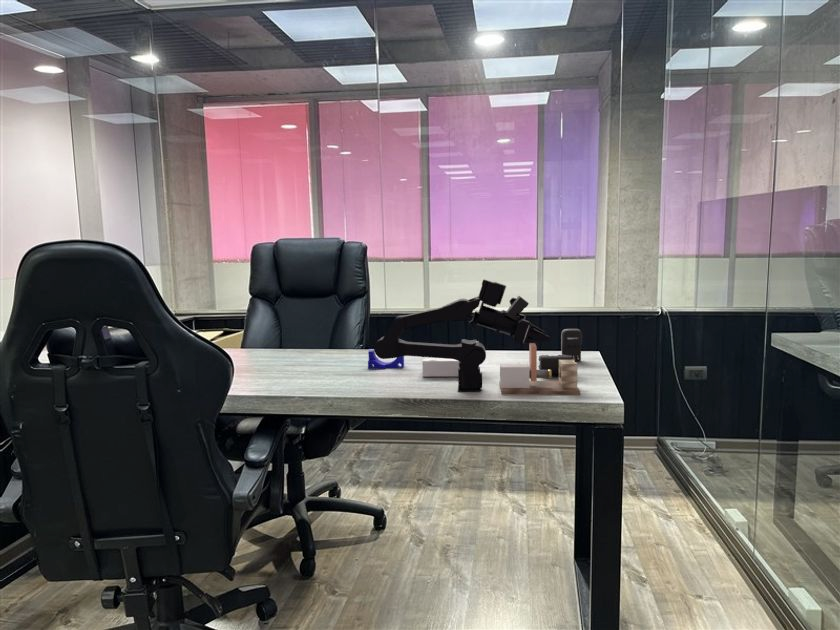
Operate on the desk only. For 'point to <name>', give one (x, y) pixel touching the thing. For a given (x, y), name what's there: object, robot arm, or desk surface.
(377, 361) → the cable clip
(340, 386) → the desk surface
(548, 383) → the base board
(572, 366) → the socket block
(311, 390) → the desk surface
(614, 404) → the desk surface
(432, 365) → the white box
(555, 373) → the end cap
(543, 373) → the brushed copper slab
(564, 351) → the battery charger
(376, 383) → the desk surface
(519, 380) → the white rectangular block
